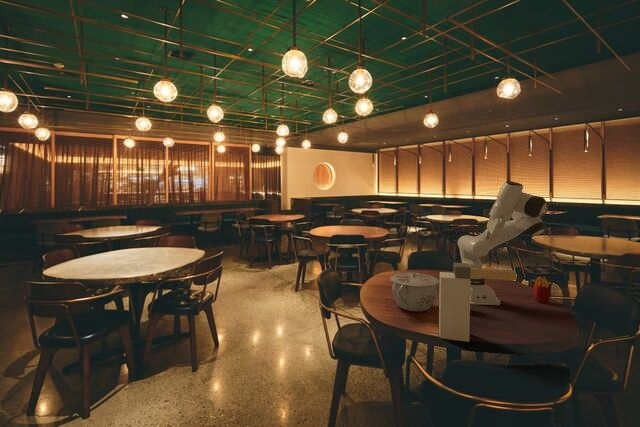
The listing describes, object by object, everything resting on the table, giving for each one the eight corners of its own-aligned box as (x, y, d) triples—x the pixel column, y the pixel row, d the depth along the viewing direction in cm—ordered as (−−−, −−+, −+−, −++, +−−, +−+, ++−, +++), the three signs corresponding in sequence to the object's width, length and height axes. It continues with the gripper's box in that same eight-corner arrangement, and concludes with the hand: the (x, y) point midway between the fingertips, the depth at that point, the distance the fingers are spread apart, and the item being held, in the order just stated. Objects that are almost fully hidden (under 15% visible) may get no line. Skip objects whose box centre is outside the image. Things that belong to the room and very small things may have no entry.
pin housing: (466, 332, 144) (467, 262, 142) (469, 341, 135) (470, 267, 133) (439, 328, 148) (439, 261, 146) (440, 338, 138) (440, 266, 136)
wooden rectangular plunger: (513, 278, 134) (513, 270, 134) (516, 280, 130) (516, 272, 130) (460, 274, 140) (461, 267, 140) (461, 276, 137) (462, 269, 136)
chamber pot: (423, 298, 192) (424, 265, 191) (449, 314, 165) (450, 277, 164) (381, 301, 187) (381, 267, 186) (400, 319, 160) (401, 280, 159)
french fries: (550, 304, 179) (551, 279, 178) (535, 303, 180) (536, 278, 179) (543, 299, 187) (544, 275, 186) (528, 298, 189) (528, 274, 188)
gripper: (511, 220, 134) (498, 248, 138) (503, 214, 153) (492, 239, 156) (496, 215, 136) (483, 243, 140) (490, 210, 155) (479, 234, 158)
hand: (488, 241), depth 148 cm, fingers open, 8 cm apart
